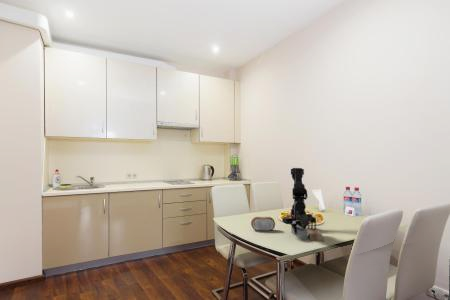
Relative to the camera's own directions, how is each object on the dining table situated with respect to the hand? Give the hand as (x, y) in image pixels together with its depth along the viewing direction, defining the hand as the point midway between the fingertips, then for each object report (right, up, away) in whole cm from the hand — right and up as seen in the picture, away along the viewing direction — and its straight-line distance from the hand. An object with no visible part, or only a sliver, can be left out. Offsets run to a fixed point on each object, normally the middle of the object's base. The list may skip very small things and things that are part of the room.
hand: (299, 234), depth 149 cm
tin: (-19, -1, +10) cm, 22 cm away
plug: (0, -1, 0) cm, 1 cm away
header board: (+9, -1, +1) cm, 10 cm away
